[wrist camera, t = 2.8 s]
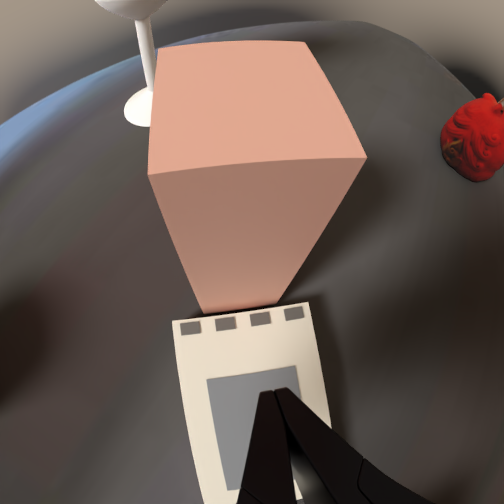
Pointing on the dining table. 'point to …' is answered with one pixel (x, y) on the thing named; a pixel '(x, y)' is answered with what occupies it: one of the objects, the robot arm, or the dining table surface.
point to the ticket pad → (241, 384)
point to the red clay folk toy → (475, 138)
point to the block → (247, 164)
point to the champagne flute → (140, 8)
